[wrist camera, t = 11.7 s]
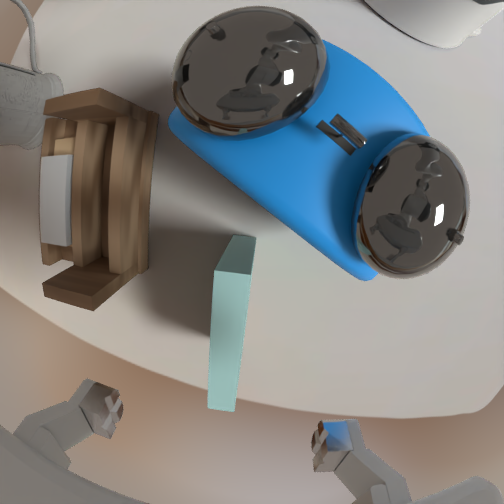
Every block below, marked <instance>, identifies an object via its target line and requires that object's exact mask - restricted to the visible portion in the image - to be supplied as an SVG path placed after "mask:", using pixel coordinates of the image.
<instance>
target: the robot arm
mask: <svg viewBox="0 0 504 504" xmlns="http://www.w3.org/2000/svg"><path fill="white" fill-rule="evenodd" d="M364 1H365V2H366V3H367V4H368V5H369V6H371V7H372V8H373V9H374V10H375V11H376V12H377V13H378V14H380V15H381V16H382V17H383V18H385V19H386V20H387V21H389V22H390V23H391V24H393V25H394V26H396V27H397V28H399V29H400V30H402V31H403V32H405V33H407V34H408V35H410V36H412V37H414V38H416V39H418V40H420V41H422V42H424V43H427V44H430V45H433V46H436V47H440V48H455V47H457V46H459V45H460V44H462V42H463V41H464V40H465V39H466V38H467V37H474V36H477V35H479V34H480V33H481V26H482V25H484V24H485V23H486V22H487V21H489V20H490V19H491V18H493V17H494V16H495V15H496V14H498V13H499V12H500V11H501V10H503V9H504V0H364ZM119 396H120V394H119V391H118V390H117V389H114V388H111V387H108V386H105V385H103V384H100V383H98V382H95V381H93V380H90V379H86V380H84V381H83V382H82V384H81V385H80V386H79V388H78V389H77V390H76V392H75V393H74V394H73V396H72V397H71V399H70V400H69V401H68V402H67V401H64V402H62V403H59V404H57V405H54V406H52V407H49V408H47V409H44V410H41V411H39V412H36V413H33V414H31V415H28V416H26V417H25V418H24V420H23V421H22V422H21V424H20V425H19V426H18V428H17V429H16V431H15V432H14V433H13V434H11V433H10V432H9V431H8V430H6V429H5V428H4V427H3V426H1V425H0V504H149V503H146V502H142V501H139V500H136V499H133V498H131V497H128V496H125V495H122V494H119V493H117V492H114V491H112V490H109V489H107V488H105V487H102V486H100V485H98V484H96V483H93V482H91V481H89V480H87V479H85V478H83V477H80V476H79V475H77V474H74V473H73V472H71V471H69V470H67V469H68V467H69V465H70V463H71V460H70V458H69V457H68V456H67V455H66V453H65V452H64V451H66V450H68V449H69V448H71V447H73V446H75V445H76V444H78V443H79V442H81V441H83V440H84V439H86V438H88V437H89V436H91V435H92V434H93V433H95V434H98V435H101V436H104V437H106V438H109V439H111V437H112V435H113V433H114V431H115V429H116V427H115V423H117V422H118V421H120V419H121V417H122V414H123V404H122V401H121V400H120V399H119ZM311 448H312V452H313V453H314V454H315V457H314V458H313V467H314V472H331V471H334V473H335V474H336V476H337V477H338V478H339V479H340V480H341V481H342V483H343V484H344V485H345V486H346V487H347V488H348V489H349V491H350V492H351V493H352V494H353V495H354V496H355V497H356V499H357V500H355V501H354V502H353V503H352V504H504V500H503V497H502V494H501V492H500V490H499V488H498V487H497V486H496V485H495V484H493V483H491V482H490V481H487V480H486V479H484V478H482V477H479V476H474V477H471V478H469V479H467V480H465V481H463V482H460V483H458V484H456V485H454V486H452V487H450V488H447V489H445V490H443V491H440V492H437V493H435V494H432V495H430V496H427V497H424V498H421V499H418V500H416V501H413V502H412V500H411V497H410V493H409V490H408V487H407V483H406V480H405V478H404V477H403V476H402V475H400V474H399V473H398V472H397V471H395V470H394V469H393V468H392V467H390V466H389V465H388V464H387V463H385V462H384V461H383V460H382V459H381V458H379V457H378V456H377V455H376V454H374V453H373V452H372V451H371V450H370V449H366V448H365V444H364V440H363V437H362V433H361V430H360V426H359V423H358V420H357V419H347V420H344V419H342V420H341V419H340V420H321V421H320V422H319V423H318V429H317V430H316V431H314V433H313V436H312V441H311Z"/></svg>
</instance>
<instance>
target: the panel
mask: <svg viewBox="0 0 504 504" xmlns="http://www.w3.org/2000/svg"><path fill="white" fill-rule="evenodd" d="M255 245H256V238H255V237H247V236H239V235H233V237H232V239H231V240H230V242H229V244H228V246H227V248H226V250H225V251H224V253H223V255H222V257H221V259H220V261H219V263H218V264H217V266H216V268H215V270H214V282H213V296H212V312H211V330H210V351H209V376H208V408H211V409H217V410H224V411H231V412H234V409H235V401H236V395H237V387H238V380H239V372H240V365H241V357H242V350H243V342H244V334H245V326H246V318H247V310H248V302H249V294H250V286H251V278H252V269H253V261H254V253H255Z"/></svg>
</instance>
